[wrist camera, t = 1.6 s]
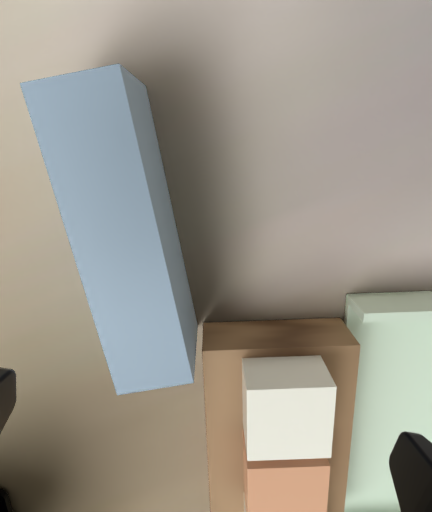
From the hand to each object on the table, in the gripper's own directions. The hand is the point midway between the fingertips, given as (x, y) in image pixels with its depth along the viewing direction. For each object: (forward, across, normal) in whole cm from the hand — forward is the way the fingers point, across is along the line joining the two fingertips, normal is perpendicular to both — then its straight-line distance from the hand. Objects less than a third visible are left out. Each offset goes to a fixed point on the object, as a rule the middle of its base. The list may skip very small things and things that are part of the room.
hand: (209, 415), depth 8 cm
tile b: (+9, -5, +10) cm, 15 cm away
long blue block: (+12, +4, -1) cm, 13 cm away
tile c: (+9, -4, +6) cm, 12 cm away
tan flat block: (+12, -5, +11) cm, 17 cm away
